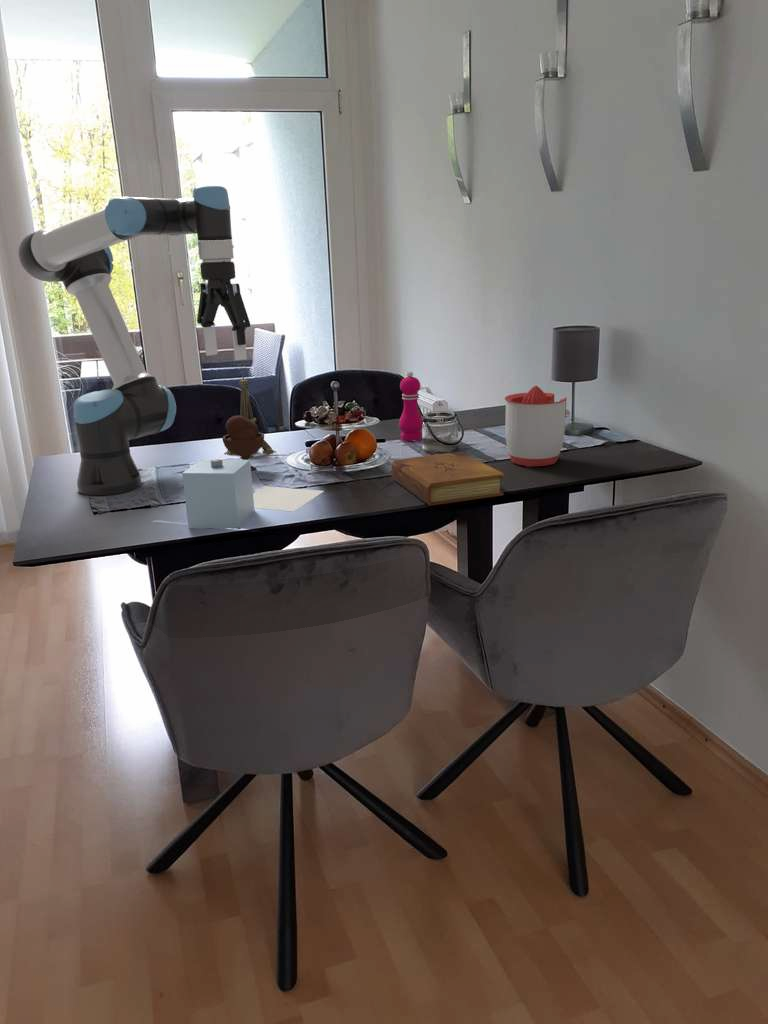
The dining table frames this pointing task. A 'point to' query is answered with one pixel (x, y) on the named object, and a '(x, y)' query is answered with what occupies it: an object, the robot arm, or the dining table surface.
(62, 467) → the dining table surface
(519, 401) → the citrus juicer
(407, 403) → the pepper mill
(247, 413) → the eiffel tower
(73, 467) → the dining table surface
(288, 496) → the mat
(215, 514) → the cover
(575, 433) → the dining table surface
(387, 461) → the dining table surface
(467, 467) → the diary
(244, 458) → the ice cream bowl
